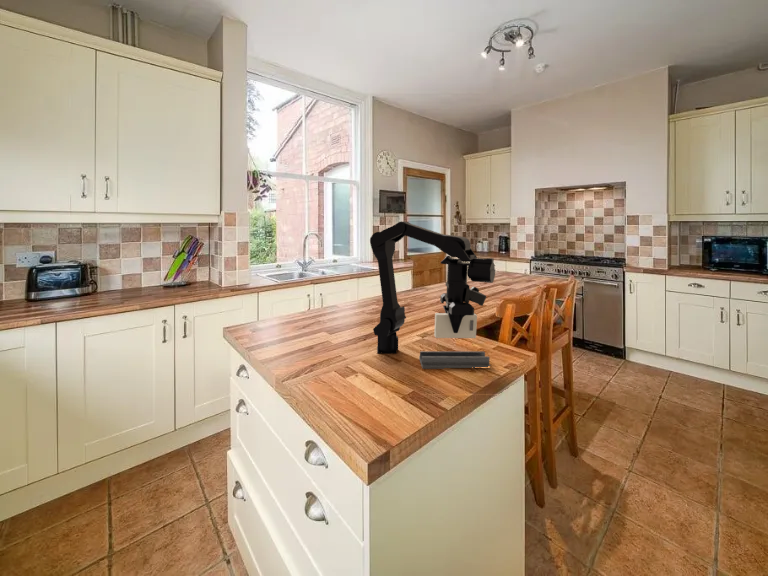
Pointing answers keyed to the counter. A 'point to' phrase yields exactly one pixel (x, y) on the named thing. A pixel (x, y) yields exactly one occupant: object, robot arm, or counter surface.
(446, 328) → the door panel
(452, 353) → the track
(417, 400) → the counter surface
